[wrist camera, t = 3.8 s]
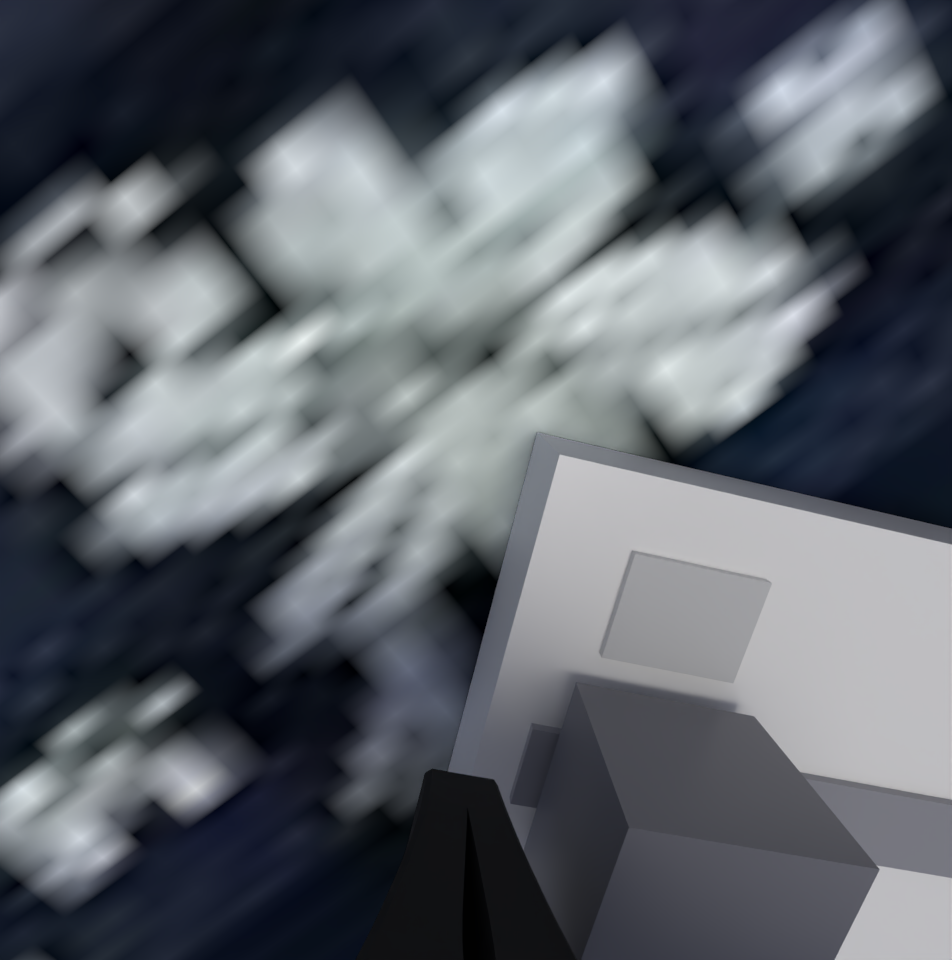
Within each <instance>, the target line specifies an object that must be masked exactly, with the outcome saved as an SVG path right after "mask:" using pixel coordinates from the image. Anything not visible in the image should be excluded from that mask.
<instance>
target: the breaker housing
mask: <svg viewBox="0 0 952 960" xmlns="http://www.w3.org/2000/svg"><path fill="white" fill-rule="evenodd" d="M576 682H578V683H583V684H588V685H593V686H599V687H604V688H609V689H614V690H620V691H625V692H630V693H635V694H640V695H646V696H651V697H656V698H661V699H667V700H672V701H677V702H682V703H688V704H693V705H698V706H703V707H708V708H714V709H719V710H724V711H729V712H735V713H740V714H745V715H750V716H754V717H755V718H756V719H757V720H758V721H759V723H760V724H761V725H762V726H763V728H764V729H765V730H766V731H767V732H768V734H769V735H770V736H771V737H772V739H773V740H774V741H775V742H776V743H777V745H778V746H779V747H780V748H781V750H782V751H783V752H784V753H785V754H786V756H787V757H788V758H789V759H790V761H791V762H792V763H793V764H794V765H795V767H796V768H797V769H798V770H799V772H800V773H801V774H802V775H803V776H804V778H805V779H806V780H807V781H808V782H809V784H810V785H811V786H812V787H813V789H814V790H815V791H816V792H817V793H818V795H819V796H820V797H821V798H822V800H823V801H824V802H825V803H826V804H827V806H828V807H829V808H830V809H831V811H832V812H833V813H834V814H835V815H836V817H837V818H838V819H839V820H840V822H841V823H842V824H843V825H844V826H845V828H846V829H847V830H848V831H849V833H850V834H851V835H852V836H853V837H854V839H855V840H856V841H857V842H858V844H859V845H860V846H861V847H862V848H863V850H864V851H865V852H866V853H867V855H868V856H869V857H870V858H871V859H872V861H873V862H874V863H875V864H876V865H877V867H878V868H879V869H880V870H879V872H878V874H877V876H876V878H875V880H874V882H873V884H872V886H871V888H870V890H869V892H868V894H867V896H866V898H865V900H864V902H863V904H862V906H861V908H860V910H859V912H858V914H857V916H856V918H855V920H854V922H853V924H852V926H851V928H850V930H849V932H848V934H847V936H846V938H845V940H844V942H843V944H842V946H841V948H840V950H839V952H838V954H837V956H836V958H835V960H952V529H951V528H947V527H942V526H938V525H934V524H929V523H925V522H921V521H916V520H912V519H908V518H904V517H899V516H895V515H891V514H886V513H882V512H878V511H873V510H869V509H865V508H861V507H856V506H852V505H848V504H843V503H839V502H835V501H830V500H826V499H822V498H818V497H813V496H809V495H805V494H800V493H796V492H792V491H788V490H783V489H779V488H775V487H770V486H766V485H762V484H757V483H753V482H749V481H745V480H740V479H736V478H732V477H727V476H723V475H719V474H714V473H710V472H706V471H702V470H697V469H693V468H689V467H684V466H680V465H676V464H671V463H667V462H663V461H659V460H654V459H650V458H646V457H641V456H637V455H633V454H629V453H624V452H620V451H616V450H611V449H607V448H603V447H598V446H594V445H590V444H586V443H581V442H577V441H573V440H568V439H564V438H560V437H555V436H551V435H547V434H543V433H538V432H537V435H536V439H535V442H534V446H533V450H532V454H531V457H530V461H529V465H528V469H527V473H526V476H525V480H524V484H523V488H522V492H521V495H520V499H519V503H518V507H517V510H516V514H515V518H514V522H513V526H512V529H511V533H510V537H509V541H508V545H507V548H506V552H505V556H504V560H503V564H502V567H501V571H500V575H499V579H498V582H497V586H496V590H495V594H494V598H493V601H492V605H491V609H490V613H489V617H488V620H487V624H486V628H485V632H484V636H483V639H482V643H481V647H480V651H479V654H478V658H477V662H476V666H475V670H474V673H473V677H472V681H471V685H470V689H469V692H468V696H467V700H466V704H465V708H464V711H463V715H462V719H461V723H460V726H459V730H458V734H457V738H456V742H455V745H454V749H453V753H452V757H451V761H450V764H449V768H448V772H453V773H459V774H465V775H471V776H477V777H483V778H489V779H494V780H495V782H496V783H497V785H498V787H499V790H500V793H501V796H502V799H503V801H504V804H505V807H506V809H507V812H508V814H509V817H510V819H511V822H512V824H513V827H514V829H515V832H516V834H517V836H518V839H519V841H520V844H521V846H522V848H523V850H524V847H525V844H526V841H527V837H528V834H529V831H530V828H531V825H532V821H533V818H534V815H535V812H536V809H537V805H538V802H539V799H540V796H541V793H542V790H543V786H544V783H545V780H546V777H547V774H548V770H549V767H550V764H551V761H552V758H553V754H554V751H555V748H556V745H557V742H558V738H559V735H560V732H561V729H562V726H563V722H564V719H565V716H566V713H567V710H568V707H569V703H570V700H571V697H572V694H573V691H574V687H575V684H576Z"/></svg>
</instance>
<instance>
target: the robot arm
mask: <svg viewBox="0 0 952 960" xmlns="http://www.w3.org/2000/svg"><path fill="white" fill-rule="evenodd" d="M356 960H577V958H576V956H575V954H574V952H573V951H572V949H571V947H570V945H569V943H568V941H567V939H566V937H565V935H564V934H563V932H562V930H561V928H560V926H559V924H558V922H557V920H556V918H555V916H554V914H553V912H552V910H551V908H550V906H549V904H548V902H547V900H546V898H545V896H544V894H543V892H542V890H541V888H540V886H539V883H538V881H537V879H536V877H535V875H534V873H533V871H532V868H531V866H530V864H529V862H528V860H527V857H526V855H525V853H524V851H523V848H522V846H521V844H520V841H519V839H518V836H517V834H516V832H515V829H514V827H513V824H512V822H511V819H510V817H509V814H508V812H507V809H506V807H505V804H504V801H503V799H502V796H501V793H500V790H499V787H498V785H497V783H496V782H495V780H494V779H489V778H483V777H477V776H471V775H465V774H459V773H453V772H448V771H442V770H436V769H431V770H429V771H428V772H426V773H425V775H424V779H423V783H422V787H421V791H420V795H419V799H418V803H417V807H416V811H415V815H414V819H413V823H412V827H411V831H410V835H409V840H408V844H407V848H406V851H405V854H404V856H403V859H402V862H401V864H400V867H399V869H398V872H397V874H396V876H395V878H394V881H393V883H392V885H391V887H390V890H389V892H388V894H387V896H386V899H385V901H384V903H383V905H382V907H381V910H380V912H379V914H378V916H377V918H376V920H375V922H374V924H373V926H372V929H371V931H370V933H369V935H368V937H367V939H366V941H365V943H364V945H363V946H362V948H361V950H360V952H359V954H358V956H357V958H356Z"/></svg>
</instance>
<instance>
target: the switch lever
mask: <svg viewBox="0 0 952 960" xmlns="http://www.w3.org/2000/svg"><path fill="white" fill-rule="evenodd" d="M523 851H524V853H525V855H526V857H527V860H528V862H529V864H530V866H531V868H532V871H533V873H534V875H535V877H536V879H537V881H538V883H539V886H540V888H541V890H542V892H543V894H544V896H545V898H546V900H547V902H548V904H549V906H550V908H551V910H552V912H553V914H554V916H555V918H556V920H557V922H558V924H559V926H560V928H561V930H562V932H563V934H564V935H565V937H566V939H567V941H568V943H569V945H570V947H571V949H572V951H573V952H574V954H575V956H576V958H577V960H835V958H836V956H837V954H838V952H839V950H840V948H841V946H842V944H843V942H844V940H845V938H846V936H847V934H848V932H849V930H850V928H851V926H852V924H853V922H854V920H855V918H856V916H857V914H858V912H859V910H860V908H861V906H862V904H863V902H864V900H865V898H866V896H867V894H868V892H869V890H870V888H871V886H872V884H873V882H874V880H875V878H876V876H877V874H878V872H879V870H880V869H879V868H878V867H877V865H876V864H875V863H874V862H873V861H872V859H871V858H870V857H869V856H868V855H867V853H866V852H865V851H864V850H863V848H862V847H861V846H860V845H859V844H858V842H857V841H856V840H855V839H854V837H853V836H852V835H851V834H850V833H849V831H848V830H847V829H846V828H845V826H844V825H843V824H842V823H841V822H840V820H839V819H838V818H837V817H836V815H835V814H834V813H833V812H832V811H831V809H830V808H829V807H828V806H827V804H826V803H825V802H824V801H823V800H822V798H821V797H820V796H819V795H818V793H817V792H816V791H815V790H814V789H813V787H812V786H811V785H810V784H809V782H808V781H807V780H806V779H805V778H804V776H803V775H802V774H801V773H800V772H799V770H798V769H797V768H796V767H795V765H794V764H793V763H792V762H791V761H790V759H789V758H788V757H787V756H786V754H785V753H784V752H783V751H782V750H781V748H780V747H779V746H778V745H777V743H776V742H775V741H774V740H773V739H772V737H771V736H770V735H769V734H768V732H767V731H766V730H765V729H764V728H763V726H762V725H761V724H760V723H759V721H758V720H757V719H756V718H755V717H754V716H750V715H745V714H740V713H735V712H729V711H724V710H719V709H714V708H708V707H703V706H698V705H693V704H688V703H682V702H677V701H672V700H667V699H661V698H656V697H651V696H646V695H640V694H635V693H630V692H625V691H620V690H614V689H609V688H604V687H599V686H593V685H588V684H583V683H578V682H576V684H575V687H574V691H573V694H572V697H571V700H570V703H569V707H568V710H567V713H566V716H565V719H564V722H563V726H562V729H561V732H560V735H559V738H558V742H557V745H556V748H555V751H554V754H553V758H552V761H551V764H550V767H549V770H548V774H547V777H546V780H545V783H544V786H543V790H542V793H541V796H540V799H539V802H538V805H537V809H536V812H535V815H534V818H533V821H532V825H531V828H530V831H529V834H528V837H527V841H526V844H525V847H524V850H523Z"/></svg>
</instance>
